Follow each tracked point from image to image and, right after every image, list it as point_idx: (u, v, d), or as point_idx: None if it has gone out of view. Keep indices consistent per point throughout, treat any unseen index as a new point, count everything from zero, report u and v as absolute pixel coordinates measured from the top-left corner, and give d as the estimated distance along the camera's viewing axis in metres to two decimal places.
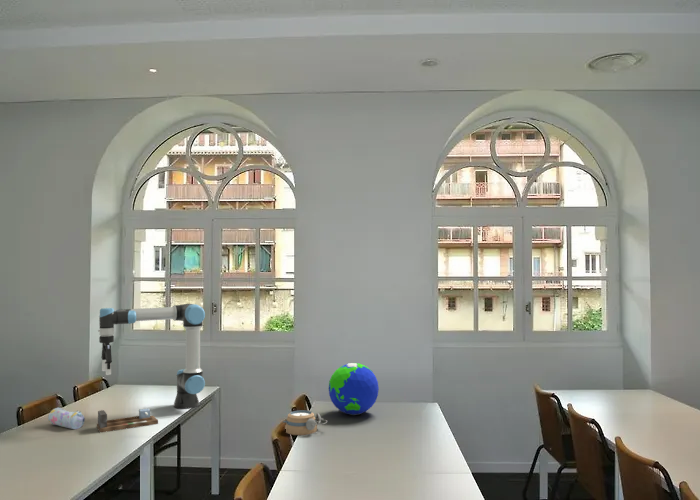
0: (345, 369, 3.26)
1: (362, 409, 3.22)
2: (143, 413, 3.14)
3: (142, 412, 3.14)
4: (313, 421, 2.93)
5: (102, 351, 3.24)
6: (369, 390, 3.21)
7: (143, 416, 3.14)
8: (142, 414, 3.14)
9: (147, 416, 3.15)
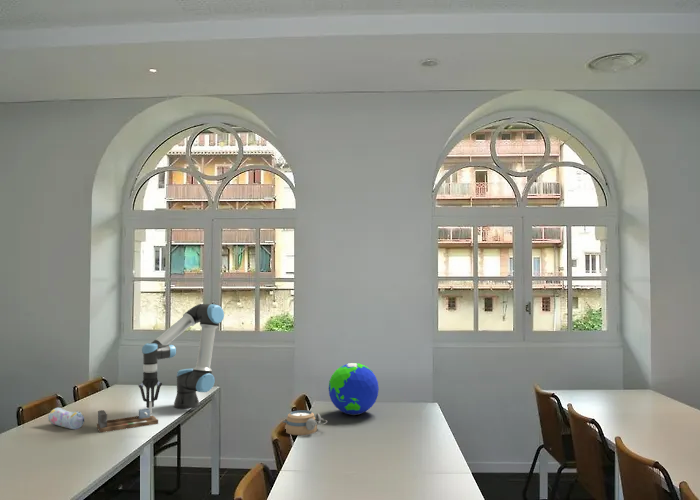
0: (345, 369, 3.26)
1: (362, 409, 3.22)
2: (143, 413, 3.14)
3: (142, 412, 3.14)
4: (313, 421, 2.93)
5: (156, 390, 3.22)
6: (369, 390, 3.21)
7: (143, 416, 3.14)
8: (142, 414, 3.14)
9: (147, 416, 3.15)
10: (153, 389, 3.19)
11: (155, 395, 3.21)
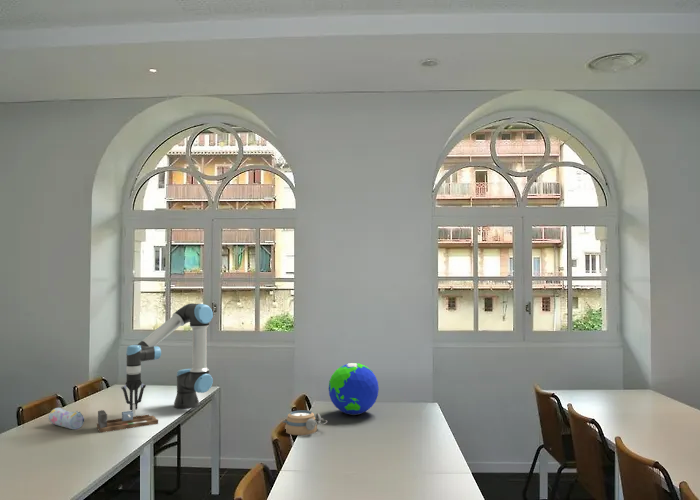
0: (345, 369, 3.26)
1: (362, 409, 3.22)
2: (126, 415, 3.09)
3: (125, 414, 3.09)
4: (313, 421, 2.93)
5: None
6: (369, 390, 3.21)
7: (126, 418, 3.09)
8: (125, 416, 3.09)
9: (130, 418, 3.11)
10: (136, 391, 3.14)
11: (139, 397, 3.16)
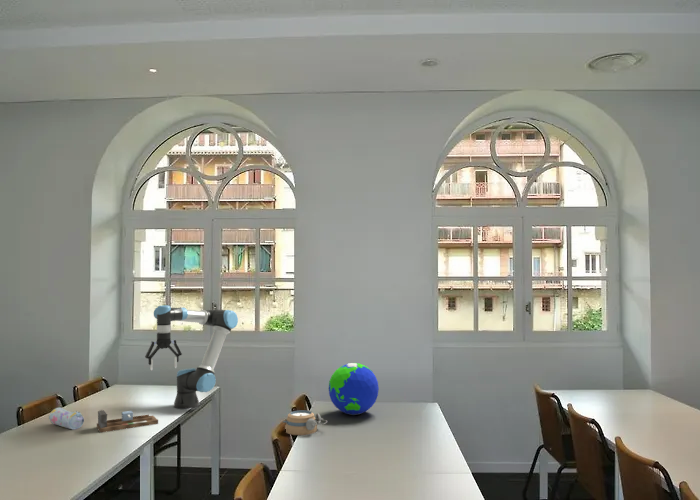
0: (345, 369, 3.26)
1: (362, 409, 3.22)
2: (126, 415, 3.09)
3: (125, 414, 3.09)
4: (313, 421, 2.93)
5: None
6: (369, 390, 3.21)
7: (126, 418, 3.09)
8: (125, 416, 3.09)
9: (130, 418, 3.11)
10: (171, 347, 3.27)
11: (178, 351, 3.31)
